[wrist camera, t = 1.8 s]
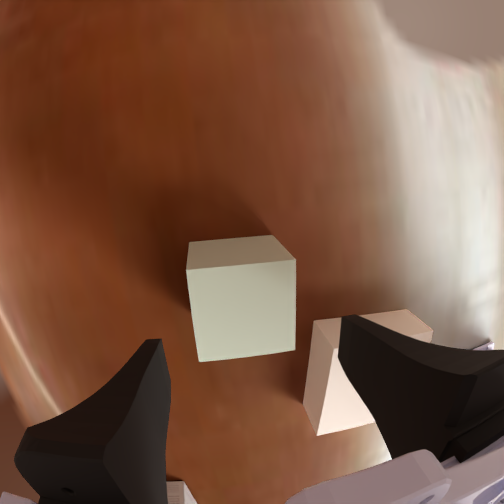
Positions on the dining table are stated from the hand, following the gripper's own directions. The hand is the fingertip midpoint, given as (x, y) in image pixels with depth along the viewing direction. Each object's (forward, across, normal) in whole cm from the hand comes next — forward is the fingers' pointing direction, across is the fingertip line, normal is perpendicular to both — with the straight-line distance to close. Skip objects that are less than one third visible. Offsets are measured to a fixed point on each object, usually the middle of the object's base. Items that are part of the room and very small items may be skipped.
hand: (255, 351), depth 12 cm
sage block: (+8, 0, 0) cm, 8 cm away
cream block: (+8, -9, +8) cm, 15 cm away
